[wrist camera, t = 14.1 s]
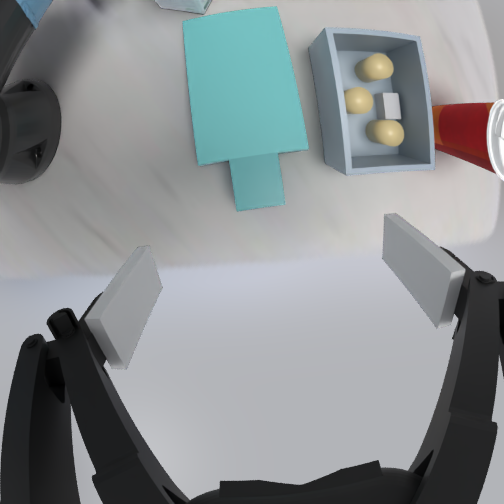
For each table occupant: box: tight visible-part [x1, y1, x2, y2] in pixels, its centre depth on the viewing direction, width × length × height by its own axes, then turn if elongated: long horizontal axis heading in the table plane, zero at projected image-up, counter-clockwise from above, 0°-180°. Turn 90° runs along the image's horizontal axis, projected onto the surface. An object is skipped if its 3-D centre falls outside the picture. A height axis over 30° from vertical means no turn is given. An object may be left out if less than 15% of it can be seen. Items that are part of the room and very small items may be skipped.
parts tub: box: [308, 28, 435, 176], centre depth 25 cm, size 14×10×8 cm
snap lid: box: [183, 6, 309, 211], centre depth 28 cm, size 23×11×6 cm, turn 9°
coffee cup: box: [432, 99, 504, 181], centre depth 22 cm, size 8×8×15 cm
